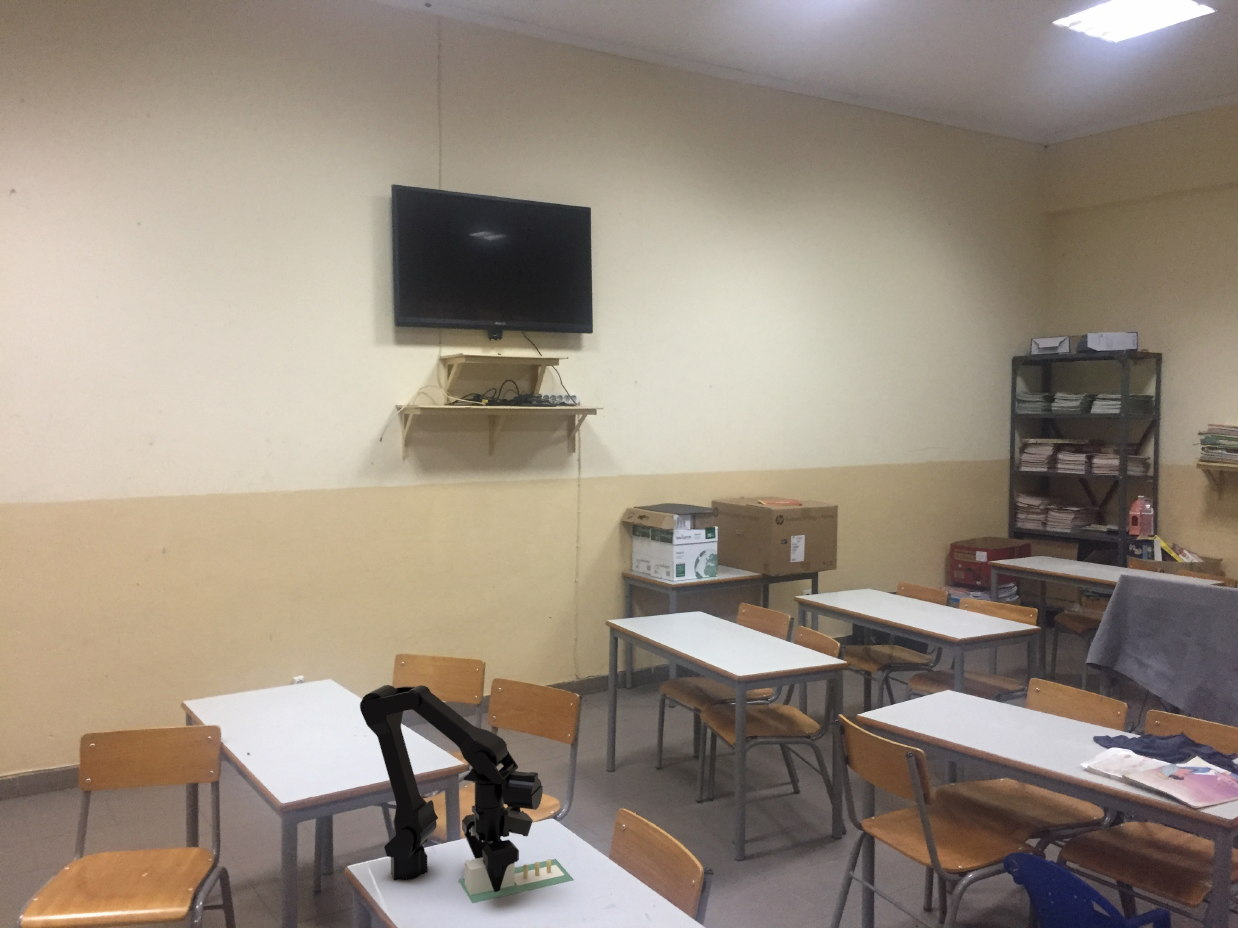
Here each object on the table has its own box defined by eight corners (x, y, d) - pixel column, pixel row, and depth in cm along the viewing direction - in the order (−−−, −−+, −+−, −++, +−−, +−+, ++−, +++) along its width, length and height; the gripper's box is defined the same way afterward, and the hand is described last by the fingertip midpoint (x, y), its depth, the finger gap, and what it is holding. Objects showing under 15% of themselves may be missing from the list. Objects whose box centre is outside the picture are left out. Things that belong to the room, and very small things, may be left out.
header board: (472, 907, 176) (472, 889, 176) (458, 884, 185) (458, 867, 185) (574, 884, 185) (574, 867, 185) (555, 863, 194) (555, 846, 194)
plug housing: (470, 894, 179) (470, 869, 178) (464, 885, 182) (464, 860, 182) (514, 885, 182) (514, 860, 182) (508, 876, 186) (508, 851, 186)
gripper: (544, 813, 177) (544, 893, 177) (512, 779, 194) (513, 852, 194) (488, 824, 172) (488, 905, 173) (460, 788, 189) (461, 863, 189)
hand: (489, 880), depth 182 cm, fingers open, 9 cm apart
